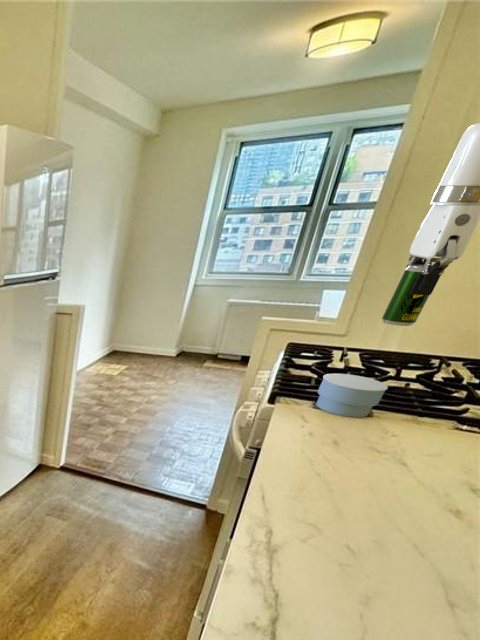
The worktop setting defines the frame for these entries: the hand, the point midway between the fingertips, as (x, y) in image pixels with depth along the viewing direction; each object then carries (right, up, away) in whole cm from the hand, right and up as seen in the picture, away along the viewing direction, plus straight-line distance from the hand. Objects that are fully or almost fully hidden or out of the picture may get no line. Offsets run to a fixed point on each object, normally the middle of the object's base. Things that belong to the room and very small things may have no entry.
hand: (413, 291), depth 103 cm
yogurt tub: (-3, -24, +13) cm, 28 cm away
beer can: (0, -6, +3) cm, 7 cm away
